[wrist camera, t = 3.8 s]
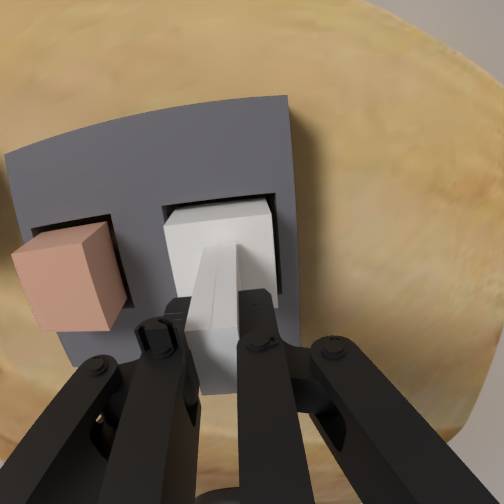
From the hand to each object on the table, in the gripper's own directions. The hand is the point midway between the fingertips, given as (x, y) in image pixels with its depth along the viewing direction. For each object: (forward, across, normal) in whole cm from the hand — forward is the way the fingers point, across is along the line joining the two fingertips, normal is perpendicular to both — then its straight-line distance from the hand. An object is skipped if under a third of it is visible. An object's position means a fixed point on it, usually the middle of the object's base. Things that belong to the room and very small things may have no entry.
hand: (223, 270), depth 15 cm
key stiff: (+3, +9, 0) cm, 9 cm away
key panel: (+5, +4, 0) cm, 7 cm away
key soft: (+4, 0, 0) cm, 4 cm away
